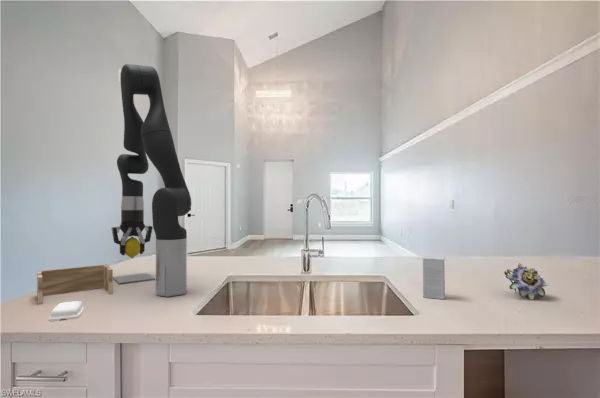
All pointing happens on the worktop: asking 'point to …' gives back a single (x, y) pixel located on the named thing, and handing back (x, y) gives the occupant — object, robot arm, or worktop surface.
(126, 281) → the slate coaster
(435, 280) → the skincare box
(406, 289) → the worktop surface
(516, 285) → the passion flower
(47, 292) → the open u-shaped oak frame
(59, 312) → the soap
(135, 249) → the lemon
